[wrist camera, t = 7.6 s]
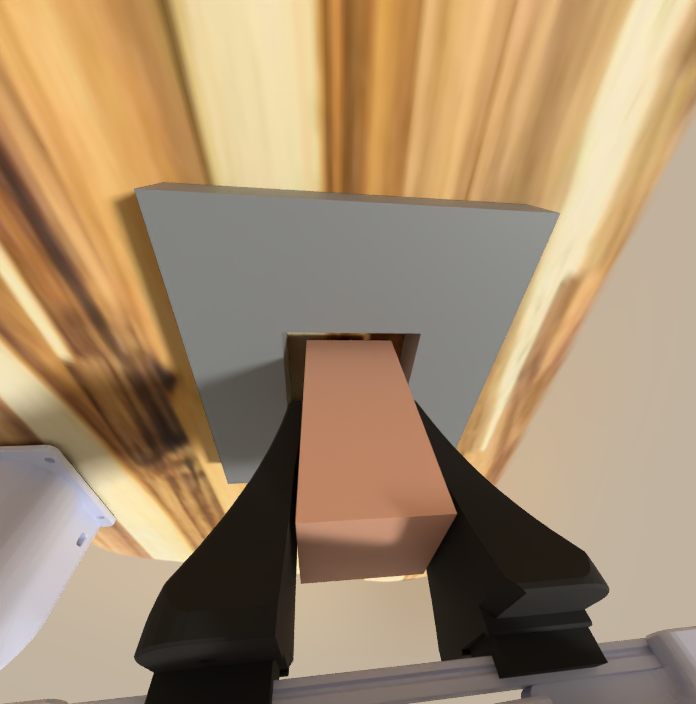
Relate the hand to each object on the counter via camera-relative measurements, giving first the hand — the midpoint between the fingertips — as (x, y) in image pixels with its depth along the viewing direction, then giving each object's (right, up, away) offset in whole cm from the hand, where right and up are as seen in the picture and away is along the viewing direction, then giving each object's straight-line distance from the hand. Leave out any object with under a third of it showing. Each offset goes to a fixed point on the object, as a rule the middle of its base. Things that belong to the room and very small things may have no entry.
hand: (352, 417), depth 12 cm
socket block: (0, +2, +3) cm, 4 cm away
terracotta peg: (0, +2, +2) cm, 3 cm away
